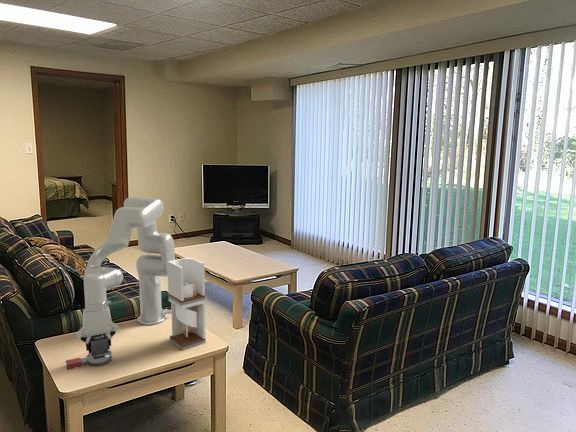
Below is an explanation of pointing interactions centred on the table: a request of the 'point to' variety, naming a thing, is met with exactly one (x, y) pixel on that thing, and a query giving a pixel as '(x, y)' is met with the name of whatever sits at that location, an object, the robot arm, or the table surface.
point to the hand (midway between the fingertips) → (98, 349)
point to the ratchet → (89, 360)
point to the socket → (99, 344)
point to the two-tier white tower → (187, 302)
